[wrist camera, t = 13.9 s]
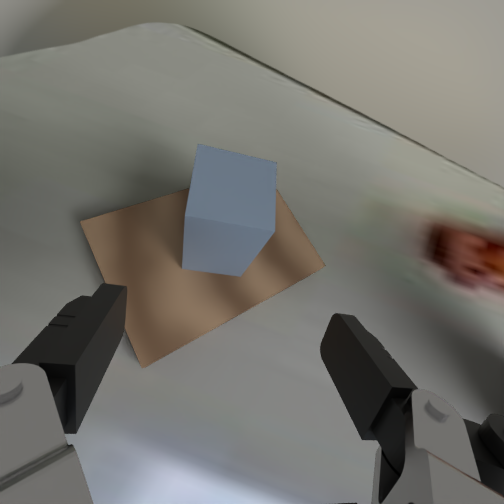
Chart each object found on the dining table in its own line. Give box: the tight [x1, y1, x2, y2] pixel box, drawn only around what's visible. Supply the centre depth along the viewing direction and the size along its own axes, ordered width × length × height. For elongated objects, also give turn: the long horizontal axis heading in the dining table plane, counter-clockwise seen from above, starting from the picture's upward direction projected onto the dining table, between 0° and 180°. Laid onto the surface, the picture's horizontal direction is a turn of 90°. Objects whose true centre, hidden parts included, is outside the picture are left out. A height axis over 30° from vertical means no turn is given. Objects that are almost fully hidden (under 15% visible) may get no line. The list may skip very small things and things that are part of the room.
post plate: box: [80, 188, 326, 368], centre depth 25 cm, size 20×14×6 cm
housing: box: [182, 144, 277, 277], centre depth 22 cm, size 6×6×10 cm
